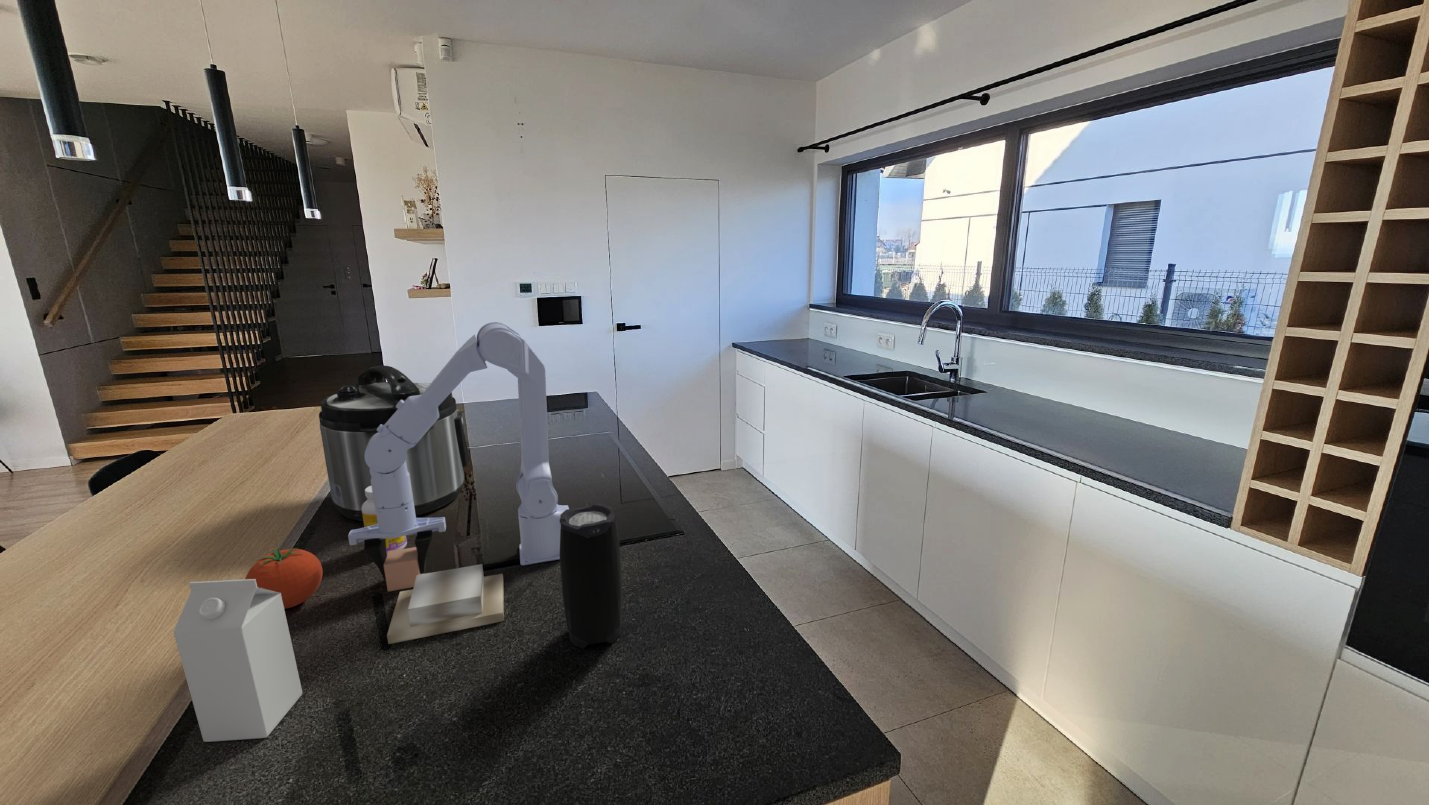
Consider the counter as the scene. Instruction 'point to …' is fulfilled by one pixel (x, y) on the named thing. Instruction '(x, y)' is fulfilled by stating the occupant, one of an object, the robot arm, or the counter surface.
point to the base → (448, 625)
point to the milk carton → (237, 659)
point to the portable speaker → (591, 574)
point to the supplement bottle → (371, 519)
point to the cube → (401, 568)
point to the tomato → (288, 574)
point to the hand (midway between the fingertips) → (405, 573)
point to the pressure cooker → (357, 420)
